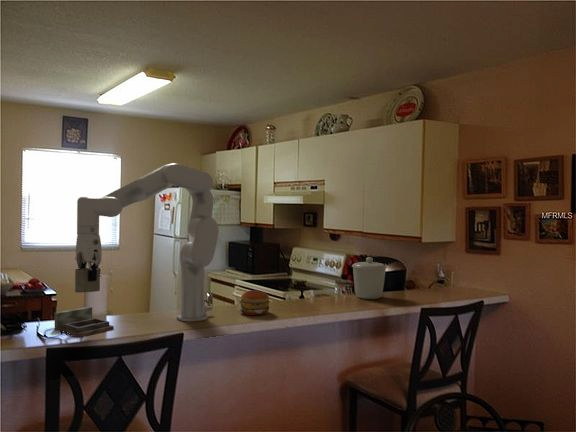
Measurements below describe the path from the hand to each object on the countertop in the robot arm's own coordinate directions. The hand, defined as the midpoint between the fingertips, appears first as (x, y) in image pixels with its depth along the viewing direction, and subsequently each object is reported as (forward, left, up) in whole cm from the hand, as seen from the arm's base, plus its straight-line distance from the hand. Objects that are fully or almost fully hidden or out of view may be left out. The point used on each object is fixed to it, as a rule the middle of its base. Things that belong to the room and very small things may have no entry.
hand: (87, 279), depth 182 cm
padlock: (0, 0, -5) cm, 5 cm away
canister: (-129, +49, -19) cm, 139 cm away
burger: (-62, +28, -19) cm, 71 cm away
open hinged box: (0, -2, -19) cm, 19 cm away
